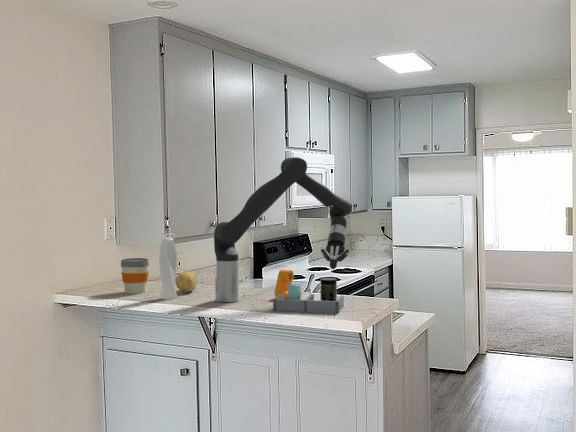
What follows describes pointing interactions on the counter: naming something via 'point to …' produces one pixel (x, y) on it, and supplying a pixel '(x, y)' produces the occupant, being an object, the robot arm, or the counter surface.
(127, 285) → the reusable coffee cup
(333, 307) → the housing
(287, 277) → the bracket
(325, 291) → the supplement container
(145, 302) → the counter surface
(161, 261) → the skyscraper
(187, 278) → the potato
